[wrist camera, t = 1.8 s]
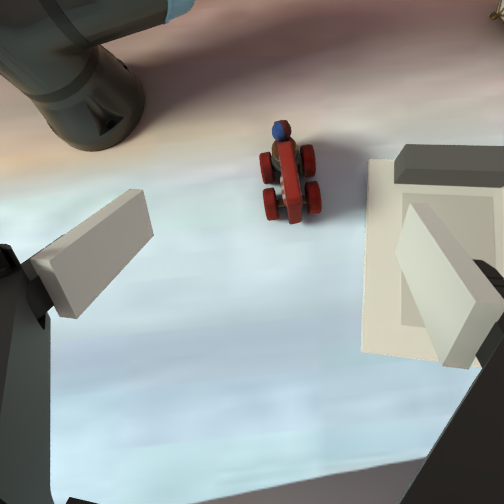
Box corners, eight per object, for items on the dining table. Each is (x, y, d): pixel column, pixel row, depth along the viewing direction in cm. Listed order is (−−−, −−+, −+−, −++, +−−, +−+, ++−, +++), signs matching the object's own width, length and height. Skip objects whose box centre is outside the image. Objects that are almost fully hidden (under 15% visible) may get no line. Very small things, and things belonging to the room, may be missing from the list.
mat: (367, 162, 39) (369, 158, 38) (520, 167, 36) (527, 162, 35) (360, 351, 34) (363, 352, 33) (535, 373, 32) (543, 375, 30)
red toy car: (308, 142, 41) (314, 86, 31) (322, 228, 38) (332, 197, 28) (259, 151, 41) (248, 99, 31) (268, 235, 39) (260, 207, 29)
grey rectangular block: (394, 161, 37) (405, 144, 33) (499, 164, 35) (524, 146, 32) (393, 183, 37) (405, 168, 33) (500, 188, 35) (526, 172, 31)
